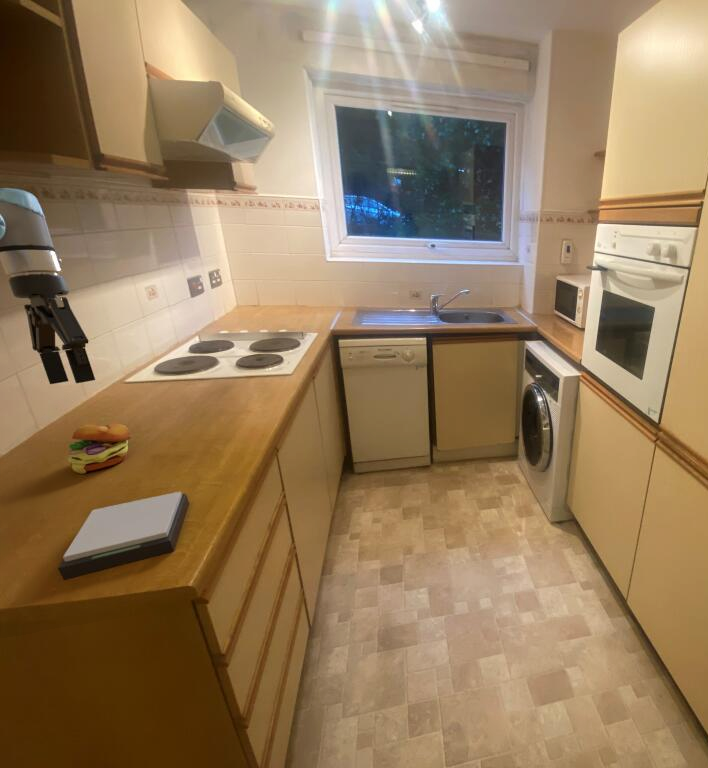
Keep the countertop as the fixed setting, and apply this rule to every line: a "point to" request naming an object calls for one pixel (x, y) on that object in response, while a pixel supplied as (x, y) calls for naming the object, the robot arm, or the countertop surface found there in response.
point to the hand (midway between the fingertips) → (72, 382)
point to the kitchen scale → (126, 534)
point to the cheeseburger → (98, 447)
